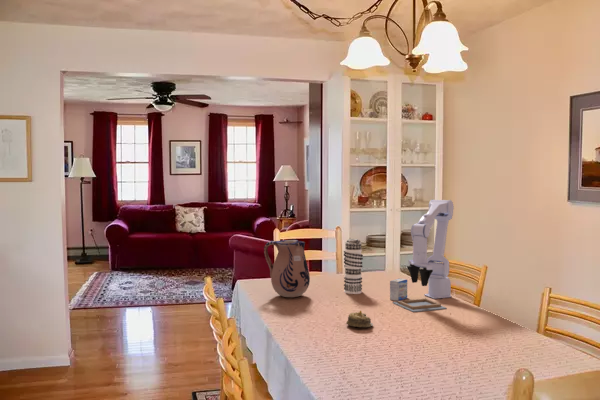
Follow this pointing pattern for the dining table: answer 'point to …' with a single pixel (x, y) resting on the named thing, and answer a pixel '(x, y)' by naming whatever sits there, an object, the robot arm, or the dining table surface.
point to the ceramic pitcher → (288, 268)
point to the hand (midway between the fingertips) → (419, 284)
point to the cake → (359, 320)
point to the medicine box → (398, 289)
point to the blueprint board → (419, 305)
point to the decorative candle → (353, 266)
